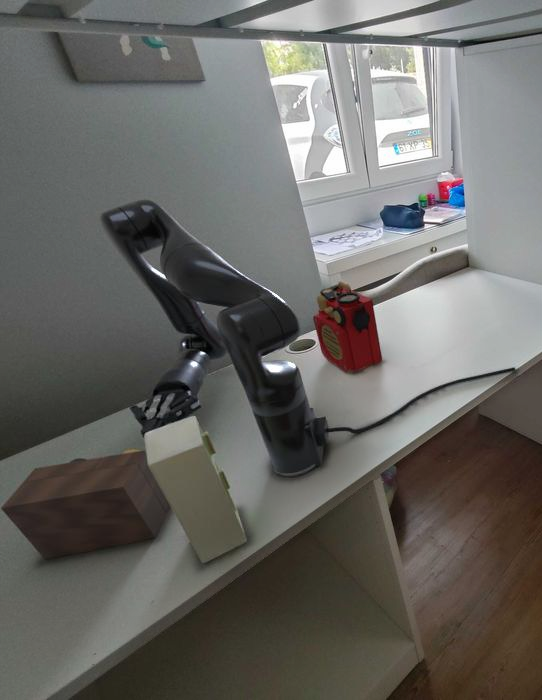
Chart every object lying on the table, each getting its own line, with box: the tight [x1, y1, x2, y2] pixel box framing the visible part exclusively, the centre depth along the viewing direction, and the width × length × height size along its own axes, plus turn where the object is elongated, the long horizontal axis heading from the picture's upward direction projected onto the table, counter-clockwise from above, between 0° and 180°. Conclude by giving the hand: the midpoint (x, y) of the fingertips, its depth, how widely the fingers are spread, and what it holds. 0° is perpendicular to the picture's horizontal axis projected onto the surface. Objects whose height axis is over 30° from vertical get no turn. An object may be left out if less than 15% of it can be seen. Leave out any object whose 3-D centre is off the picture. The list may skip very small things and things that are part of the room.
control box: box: [0, 449, 171, 560], centre depth 72 cm, size 16×11×12 cm
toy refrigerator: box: [143, 415, 248, 564], centre depth 67 cm, size 8×7×21 cm
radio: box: [312, 280, 383, 372], centre depth 112 cm, size 16×10×20 cm, turn 45°
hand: (148, 436), depth 81 cm, fingers closed
